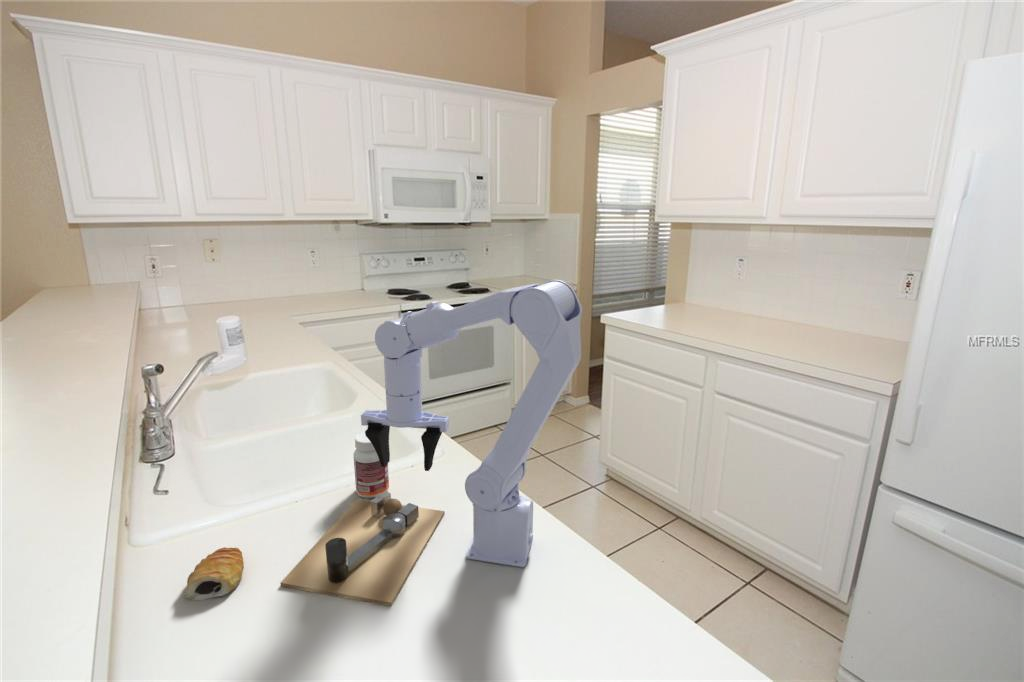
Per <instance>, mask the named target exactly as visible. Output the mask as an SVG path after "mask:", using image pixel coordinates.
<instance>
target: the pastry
mask: <svg viewBox="0 0 1024 682" xmlns="http://www.w3.org/2000/svg"><path fill="white" fill-rule="evenodd" d="M244 564H245V563H244V557H243V552H242V551H241V550H240V548H237V547H221V548H219V549H218V548H217V549H216V550H214V552H212V553H210V554H209V553H208V554H207V556H206V557H205V558H202V559H201V560H200V562H199V563H198V564H196V565H195V568H194V569H193V571H191V573H190V574H189V575H188V578H187V582H186V583H187V584H186V585H187V586H186V588H185V589H186V590H185V591H184V593H183V595H184V597H185V598H186V599H188V600H190V601H196V602H198V601H199V602H200V601H205V600H208V599H212V598H217V597H223V596H226V595H228V594H229V593H231V592H233V591H234V590H236V588H237V587H238V586H239V585H240V583H241V581H242V579H243V573H244V569H245V567H244Z"/></svg>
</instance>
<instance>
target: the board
mask: <svg viewBox="0 0 1024 682" xmlns="http://www.w3.org/2000/svg"><path fill="white" fill-rule="evenodd" d="M404 506H405V505H403V504H402V508H403V507H404ZM418 513H419V518H417V519H416V520H415V521H414V522H412V523H411V524H410V525H409V526H406V531H405V533H404V534H403V535H402V536H400V537H397V538H392V539H390V540H389V541H388V542H387V543H385V544H384V545H383V546H382V547H380V548H379V549H378V550H377V551H375V552H374V553H373V554H372V555H371V556H369V557H368V558H367V559H366V560H364V561H363V562H362V563H361V564H359V565H358V566H357V567H356V568H354V569H353V570H352V571H351V572H349V574H348V577H347V578H346V579H345V580H343V581H341V582H331V581H329V579H328V570H327V559H326V548H325V545H326V543H327V542H328V541H329V540H331V539H334V538H343V539H345V540H346V547H347V557H348V556H349V555H350V554H352V553H353V552H354V551H356V550H357V549H358V548H360V547H361V546H362V545H364V544H365V543H366V542H368V541H369V540H370V539H371V538H373V537H374V536H375V535H377V534H378V533H379V532H381V531H382V530H383V519H384V517H385V516H386V515H385V514H383V515H382V516H380V517H379V518H375V517H372V516H371V500H366V499H359V498H356V499H355V500H354V501H353V502H352V504H351V505H350V506H349V507H348V508H347V509H346V510H345V511H344V512H343V513H342V514H341V516H340V517H339V518H338V519H337V520H336V521H335V522H334V523H333V525H331V527H330V528H329V529H328V530H327V531H326V532H325V533H324V534H323V535H322V536H321V537H320V539H318V541H317V542H316V543H314V545H313V546H312V548H310V550H308V552H307V553H306V554H305V555H304V556H303V558H301V560H299V562H297V564H296V565H295V566H294V567H293V568H292V569H291V570H290V572H289V573H288V574H287V575H286V576H285V577H283V579H282V581H280V587H282V588H289V589H295V590H299V591H303V592H304V591H306V592H311V593H316V594H322V595H327V596H334V597H338V598H344V599H350V600H355V601H361V602H367V603H370V604H371V603H372V604H378V605H383V606H387V607H388V606H389V607H392V606H393V605H394V603H395V600H396V599H397V597H398V596H399V594H400V593H401V590H402V588H403V587H404V585H405V584H406V581H407V580H408V579H409V577H410V575H411V573H412V571H413V570H414V568H415V567H416V564H417V563H416V562H418V561H419V560H420V558H421V556H422V554H423V552H424V551H425V549H426V547H427V545H428V544H429V541H430V540H431V538H432V537H433V535H434V533H435V531H436V530H437V528H438V526H439V525H440V523H441V521H442V519H443V517H444V516H445V510H441V509H440V510H438V509H432V508H425V507H418ZM427 543H428V544H427ZM423 550H424V551H423ZM419 557H420V558H419Z"/></svg>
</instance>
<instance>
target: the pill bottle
mask: <svg viewBox="0 0 1024 682" xmlns="http://www.w3.org/2000/svg"><path fill="white" fill-rule="evenodd" d="M354 442H355V443H354V444H355V445H354V446H355V450H354V452H353V465H354V466H353V468H354V478H355V481H354V482H355V491H356V494H357V495H358V496H359V497H362V498H365V499H374V498H376V497H377V496H378V495H380V494H381V493H383V492H384V491H386V492H389V489H390V478H389V474H390V473H389V463H388V464H387V465H386V466H385V467H381V464H380V461H379V458H378V455H377V453H376V450H375V448H374V447H373V445H372V443H371V442H370V440H369V439H368V438H367V437H366V435H365V431H363V432H360V433H358V434H357V435H355V437H354Z"/></svg>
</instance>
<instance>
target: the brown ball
mask: <svg viewBox="0 0 1024 682" xmlns="http://www.w3.org/2000/svg"><path fill="white" fill-rule="evenodd" d="M402 505H403V504H402V502H401V501H400V500H399V499H397V498H391V499H389V500H388V501H386V503H385V504H384V507H383V511H384V514H385V515H386V516H387V515H389V514H392V513H398V511H399V510H400V509H402Z"/></svg>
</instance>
